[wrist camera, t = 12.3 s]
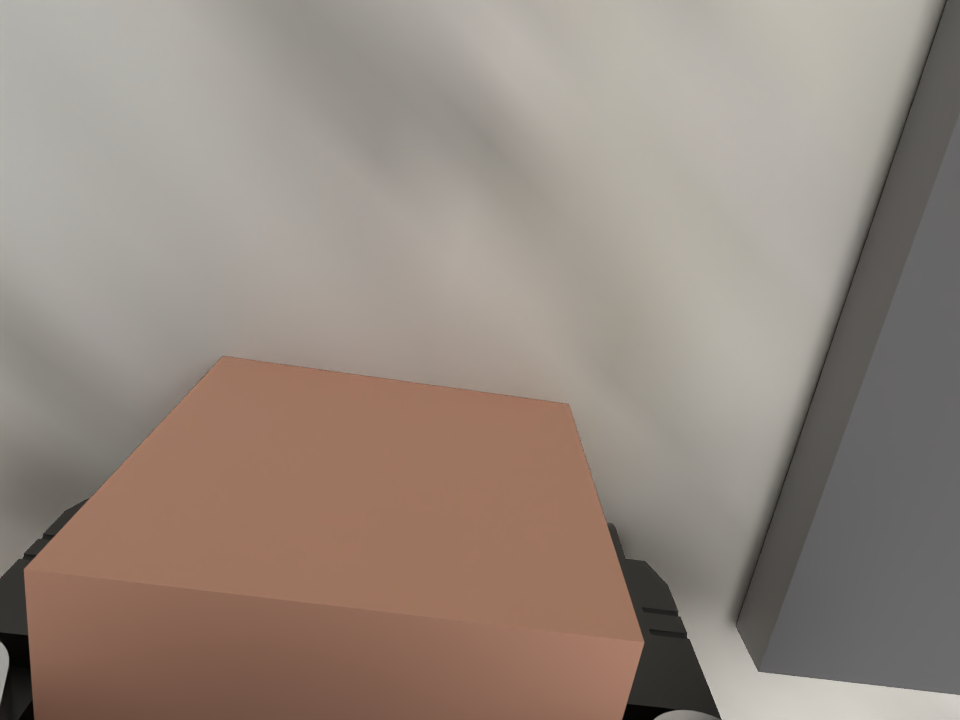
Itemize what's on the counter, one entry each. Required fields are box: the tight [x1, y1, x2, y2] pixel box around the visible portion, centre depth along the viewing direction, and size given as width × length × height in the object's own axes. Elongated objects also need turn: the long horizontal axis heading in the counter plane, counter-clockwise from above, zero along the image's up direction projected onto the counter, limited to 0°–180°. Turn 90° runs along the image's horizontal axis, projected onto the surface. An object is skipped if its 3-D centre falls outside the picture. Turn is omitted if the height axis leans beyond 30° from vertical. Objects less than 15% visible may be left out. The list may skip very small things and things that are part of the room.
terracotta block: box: [24, 356, 644, 720], centre depth 9 cm, size 5×5×5 cm
